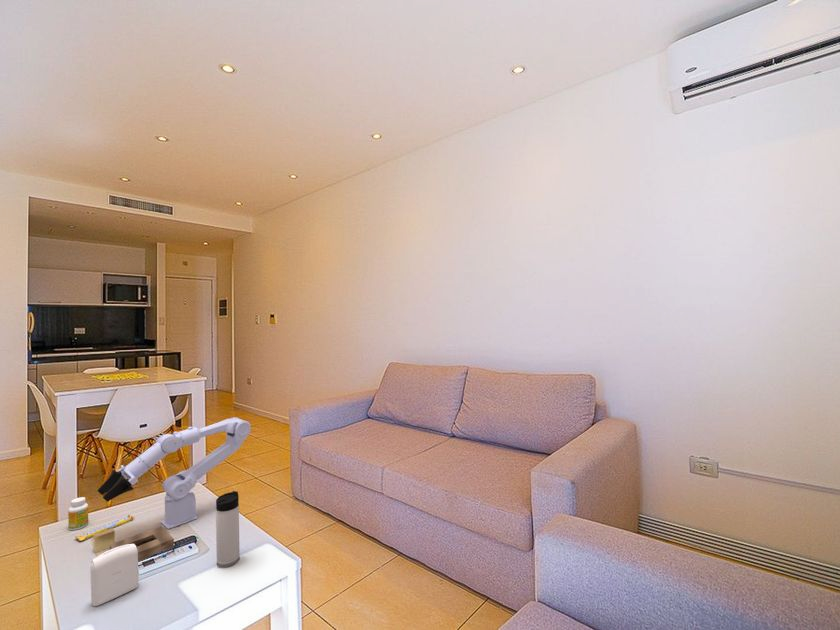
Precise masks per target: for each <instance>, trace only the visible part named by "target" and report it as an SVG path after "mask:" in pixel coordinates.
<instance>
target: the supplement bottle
mask: <svg viewBox="0 0 840 630" xmlns="http://www.w3.org/2000/svg"><path fill="white" fill-rule="evenodd" d="M87 526H89V504H88V503H87V502H86V497H83V496H81V497H77V498H74V499H72V500H71V501H70V507H68V530H69V531H77V530H81V529H84V528H85V527H87Z"/></svg>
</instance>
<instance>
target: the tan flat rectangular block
mask: <svg viewBox="0 0 840 630" xmlns="http://www.w3.org/2000/svg"><path fill="white" fill-rule="evenodd" d="M92 538H93V551H94V553H100V552H101V551H105V550H107V549H110V544H113V543H116V533H115V528H112V529H109V530H106V531H103V532H100V533H97V534H94V535H93V537H92Z"/></svg>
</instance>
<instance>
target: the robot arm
mask: <svg viewBox="0 0 840 630" xmlns="http://www.w3.org/2000/svg"><path fill="white" fill-rule="evenodd" d="M251 427H252V426H251V423H250V422H249V421H248V420H243V419H241V418H239V417H236V416H233V417H230V418H225V419H223V420H221V421H218V422H215V423H213V424H210V425H207V426H204V427H200V428H197V427H193V426H189V427H187V429H184V430H180V431H173V432H172V433H165V434H162V435H160V436H158V438H157V439H156V442H155V443H154V444H153V445H151V446H150V447H148V449H146V450H145V451H143V452H142V453H140V455H139V456H137V457H136V458H134V459H133V460H132V461H131V462H129V463H128V464H127V465H125V466H124V465H123V464H121V465H120V468H119V469H118V470H117V471H116V470H115V469H113V470H112V471H111V473H110V474H109V476H108V478H107V479H106V480H105V481H104V482H103V483H102V484H101V485H100V487H99V488H98V489H97V490H96V491H97V492H98V493H99V494H100V495H101V496H102V499H104V501H106V502H110V501H112V500H113V499H115V498H116V497H119V496H121V495H122V494H124V493H127V492H130V491H132V490H134V487H132V486H134V485H136V484H137V483H138V482H139V478H140V477H141V476H143V474H145V473H146V472H148V471H149V470H150V469H151V468H153V466H155V465H156V464H158V462H160V461H161V460H162V459H163V458H164V457H166V456H167V455H168V454H171V453H176V452H177V451H178V450H179V449H181V448H182V447H187V446H189V445H194V444H195V443H199V442H200V440H201V439H202V438H204V437H208V436H212V435H215V434H220V433H222V432H223V433H225V434H226V440H225V442H224V443H222V444H221V445H220V446H218V447H217V448H216V449H214V450H213V451H211V452H210V453H209V454H207V455H206V456H204V457H203V458H201V459H200V460H199V461H197V462H195V464H193V465H192V466H191V467H190V468H188V469H185V470H182V471H179V472H178V473H177V474H174V475H171V476H169V477H167V478H166V479H165V480H164V481H163V483H162V490H163V492H164V493H165V496H164V519H162V520H160V522H161V524H162V526H164V527H165V528H166V529H167V530H171V529H172V528H175V527H178V526H180V525H183V524H186V523H189V522H192V521H194V520H197V518H198V516H197V499H196V495H195V493H194V492H192V491H191V490H193V488H195V486H196V483H197V482H198V480H200V479H201V478H202V477H203V476H205V475H206V474H208V473H210V471H212V470H213V469H214V468H215V467H216V466H218V465H220V464H221V463H222V462H223V461H225V460H226V459H228V458H229V457H231V456H232V455H233V454H234V453H235V452H236V451H239V449H240V448H241V446H242V445H243V443H244V441H245V439H246V438H247V437H248V436H250V434H251Z"/></svg>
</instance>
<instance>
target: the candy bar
mask: <svg viewBox="0 0 840 630" xmlns="http://www.w3.org/2000/svg"><path fill="white" fill-rule="evenodd" d="M134 519H135V517H134V516H133V515H129V514H127V516H125V517H123V518H119V519H118V520H115V521H113V522H110V523H108V524H105V525H103V526H99V527H97V528H94V529H92V530H89V531H86V532H84V533H82V534H80V535H78V536H74V538H76V539H77V540H78V541H79V542H80V541H84V540H88V539H91V538H93V535H94V534H97V533H100V532H103V531H106V530H109V529H112V528H113V529H115V528H119V527H120V526H123V525H125V524H128V523H130V522H133V521H134Z"/></svg>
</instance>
